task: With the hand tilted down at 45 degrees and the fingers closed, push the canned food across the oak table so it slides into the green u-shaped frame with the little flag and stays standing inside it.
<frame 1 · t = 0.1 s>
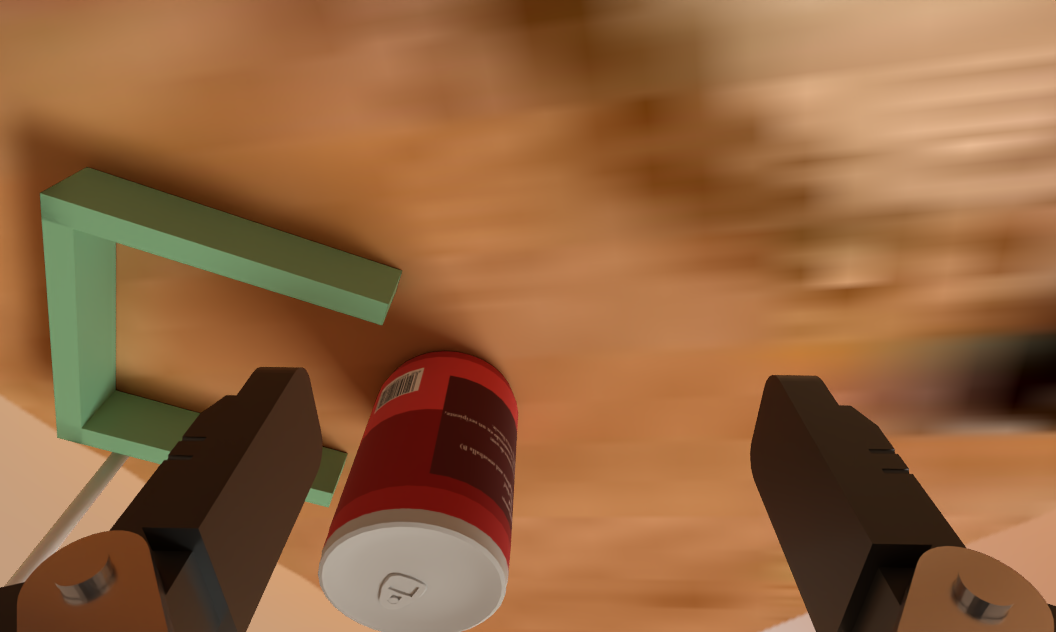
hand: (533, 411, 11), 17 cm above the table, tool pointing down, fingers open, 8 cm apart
canned food: (449, 401, 34), on the table
green u-shaped frame: (247, 343, 32), on the table
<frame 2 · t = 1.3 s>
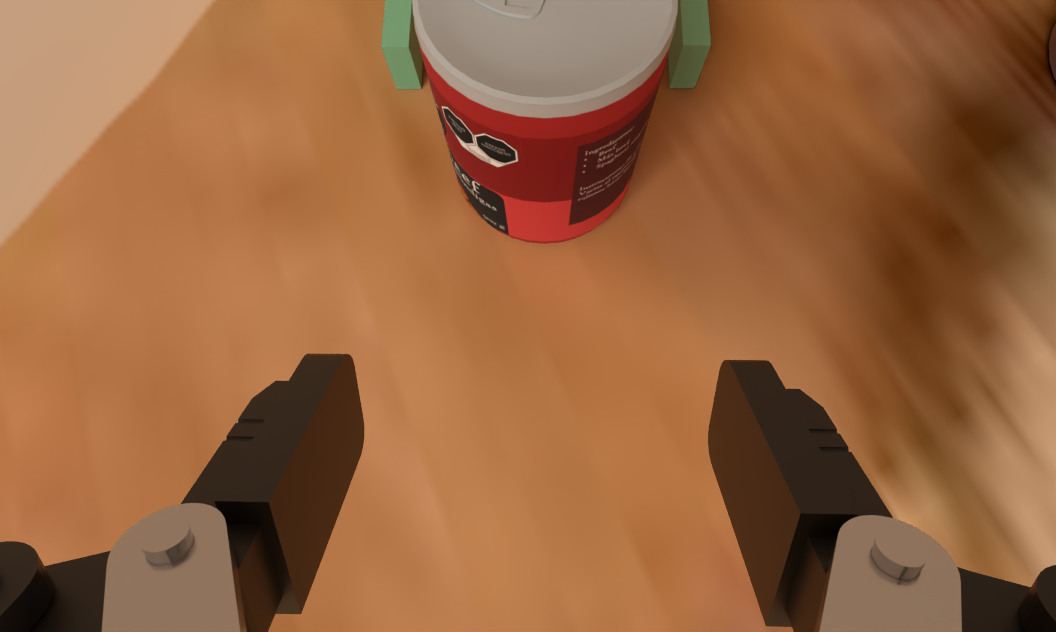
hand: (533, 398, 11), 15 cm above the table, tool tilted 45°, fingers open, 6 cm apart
canned food: (543, 174, 29), on the table
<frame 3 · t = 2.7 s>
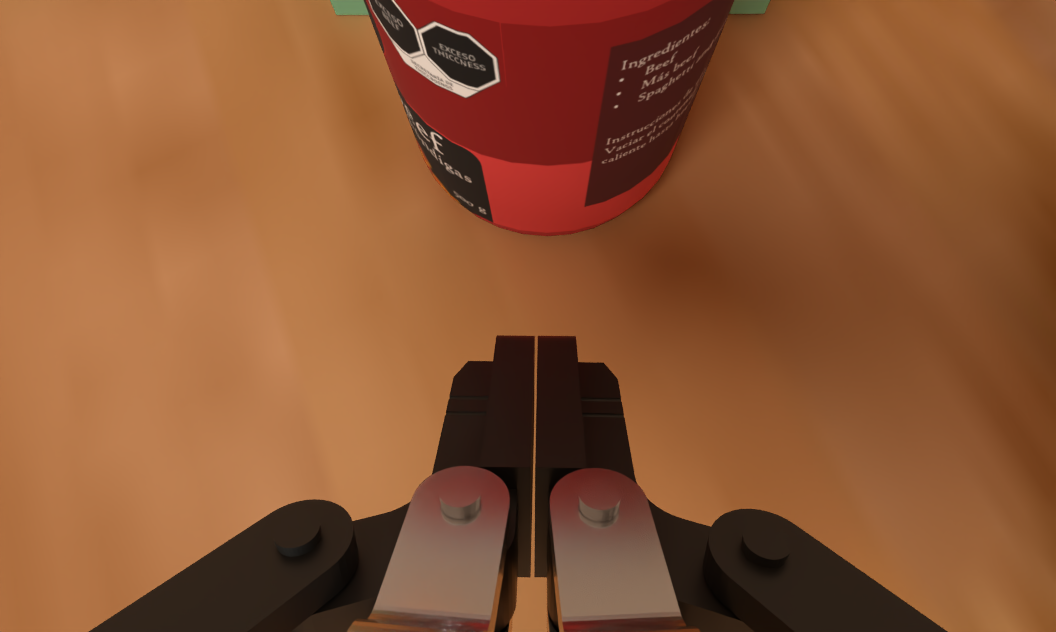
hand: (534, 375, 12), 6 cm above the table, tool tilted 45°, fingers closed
canned food: (545, 136, 20), on the table
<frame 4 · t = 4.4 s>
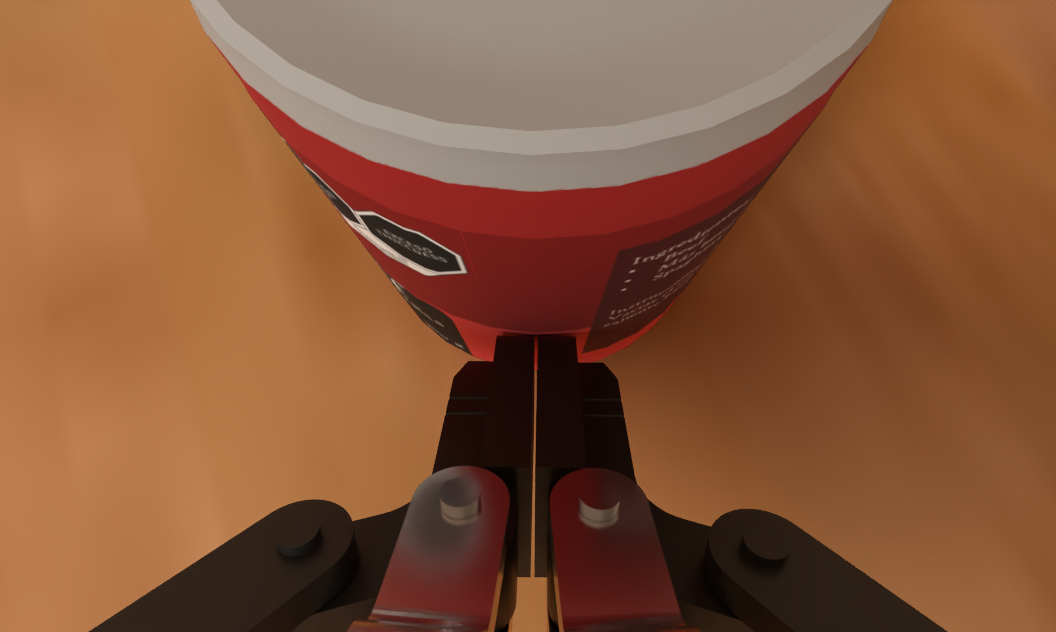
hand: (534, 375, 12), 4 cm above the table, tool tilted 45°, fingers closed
canned food: (538, 240, 17), on the table, touching gripper
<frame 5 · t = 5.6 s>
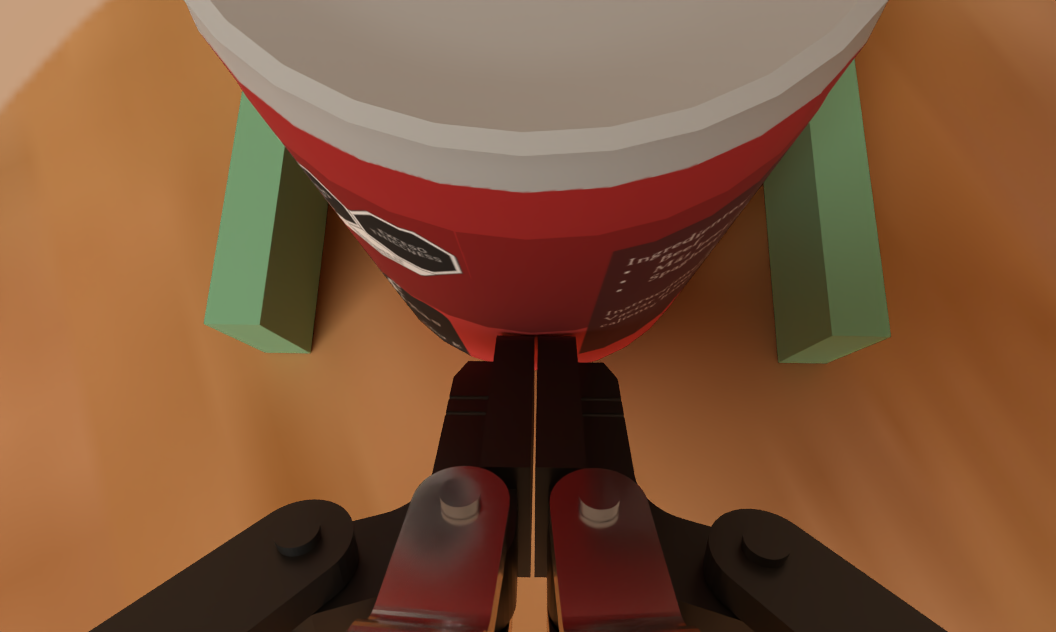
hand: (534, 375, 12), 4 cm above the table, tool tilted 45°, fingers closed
canned food: (536, 239, 17), on the table, touching gripper
green u-shaped frame: (546, 132, 17), on the table
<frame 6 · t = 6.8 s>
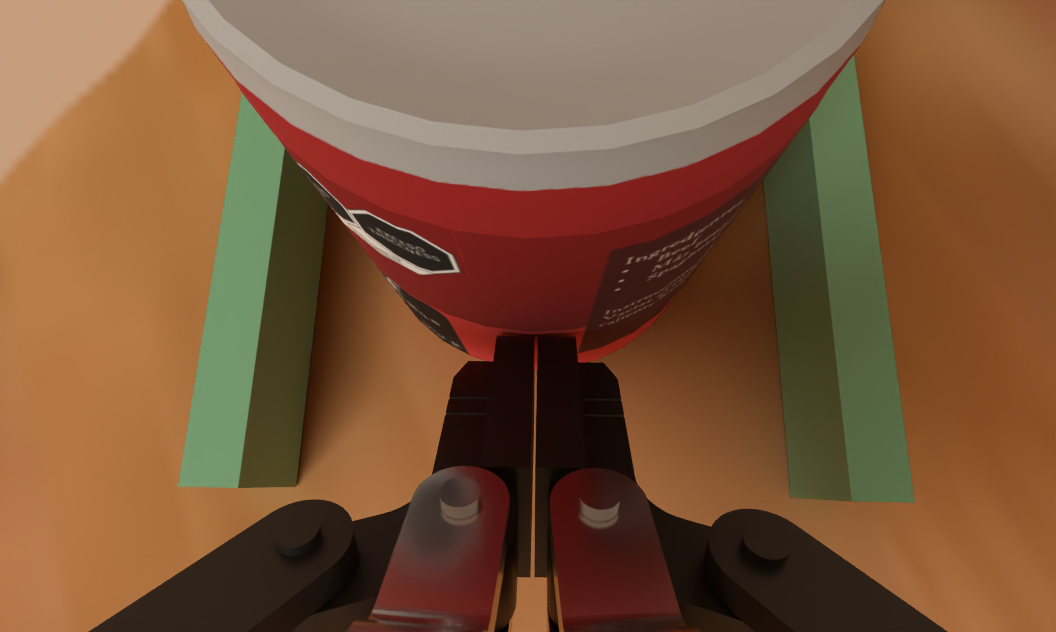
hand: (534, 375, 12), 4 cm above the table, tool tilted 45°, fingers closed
canned food: (535, 239, 17), on the table, touching gripper
green u-shaped frame: (544, 241, 17), on the table
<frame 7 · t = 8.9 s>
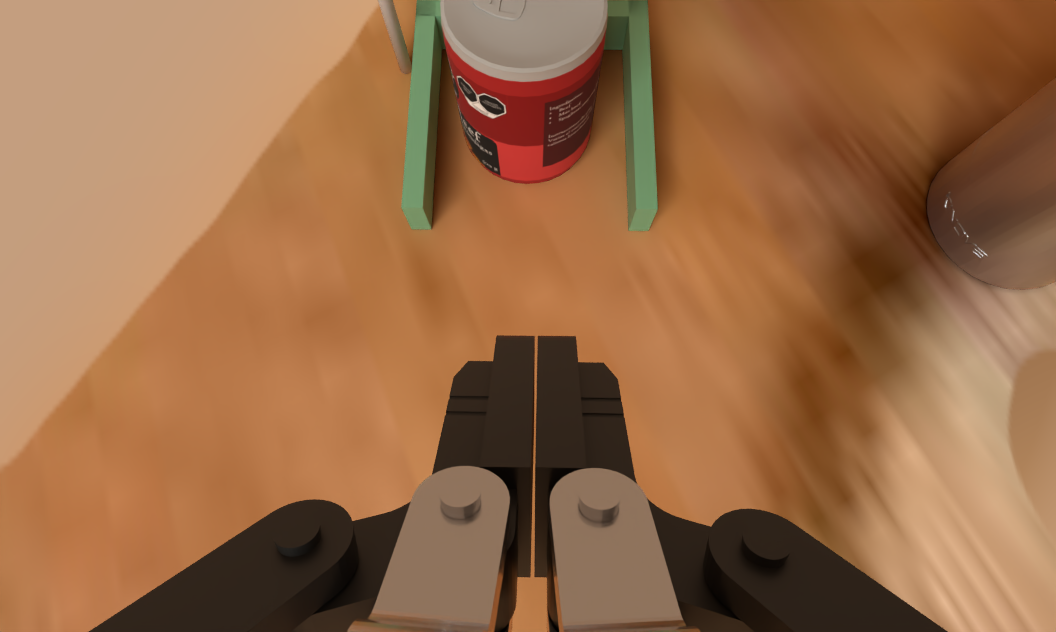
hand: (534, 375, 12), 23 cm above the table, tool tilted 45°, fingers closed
canned food: (527, 135, 39), on the table
green u-shaped frame: (530, 135, 39), on the table
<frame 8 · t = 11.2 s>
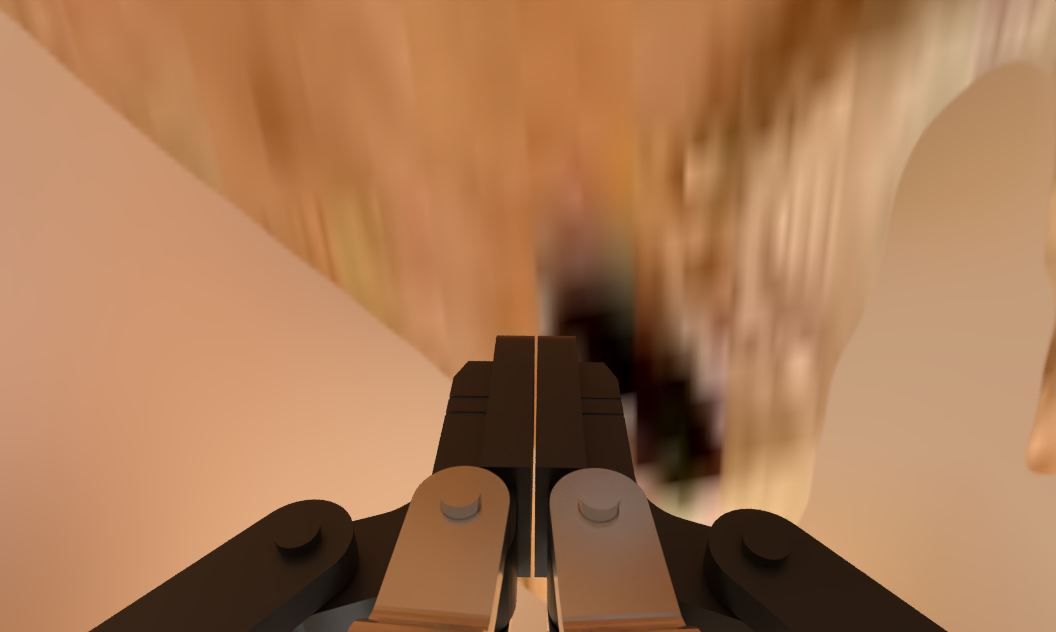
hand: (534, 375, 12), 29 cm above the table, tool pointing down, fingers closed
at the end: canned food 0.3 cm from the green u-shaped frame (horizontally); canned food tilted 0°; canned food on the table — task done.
